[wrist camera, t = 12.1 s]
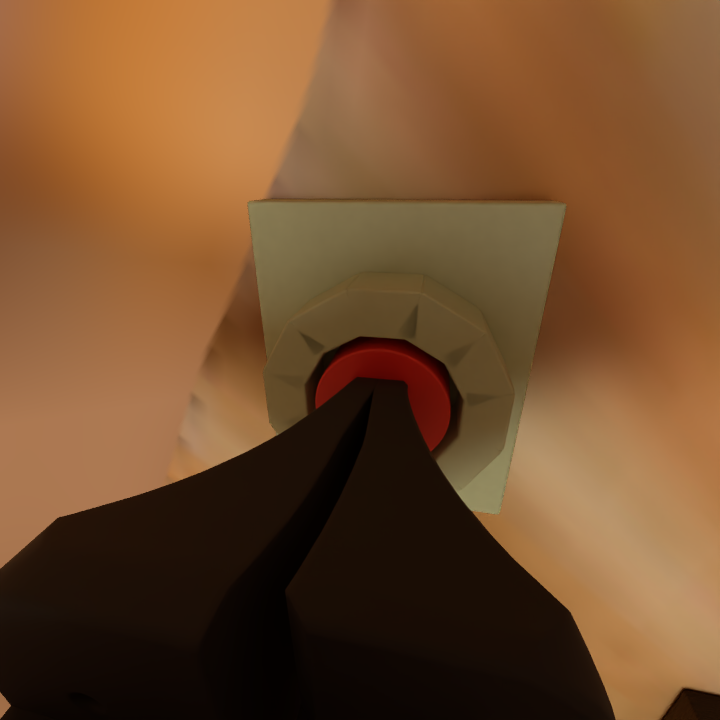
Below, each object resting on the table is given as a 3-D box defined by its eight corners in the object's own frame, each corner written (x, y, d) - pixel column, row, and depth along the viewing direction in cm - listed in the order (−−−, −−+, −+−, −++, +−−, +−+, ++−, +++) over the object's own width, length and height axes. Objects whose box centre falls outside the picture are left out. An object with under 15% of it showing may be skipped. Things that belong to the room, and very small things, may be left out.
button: (329, 320, 11) (310, 344, 9) (455, 328, 10) (457, 355, 9) (333, 422, 12) (318, 457, 11) (443, 435, 12) (443, 474, 10)
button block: (264, 198, 11) (208, 205, 8) (554, 200, 10) (597, 208, 7) (292, 462, 15) (261, 522, 13) (495, 490, 14) (508, 562, 11)
